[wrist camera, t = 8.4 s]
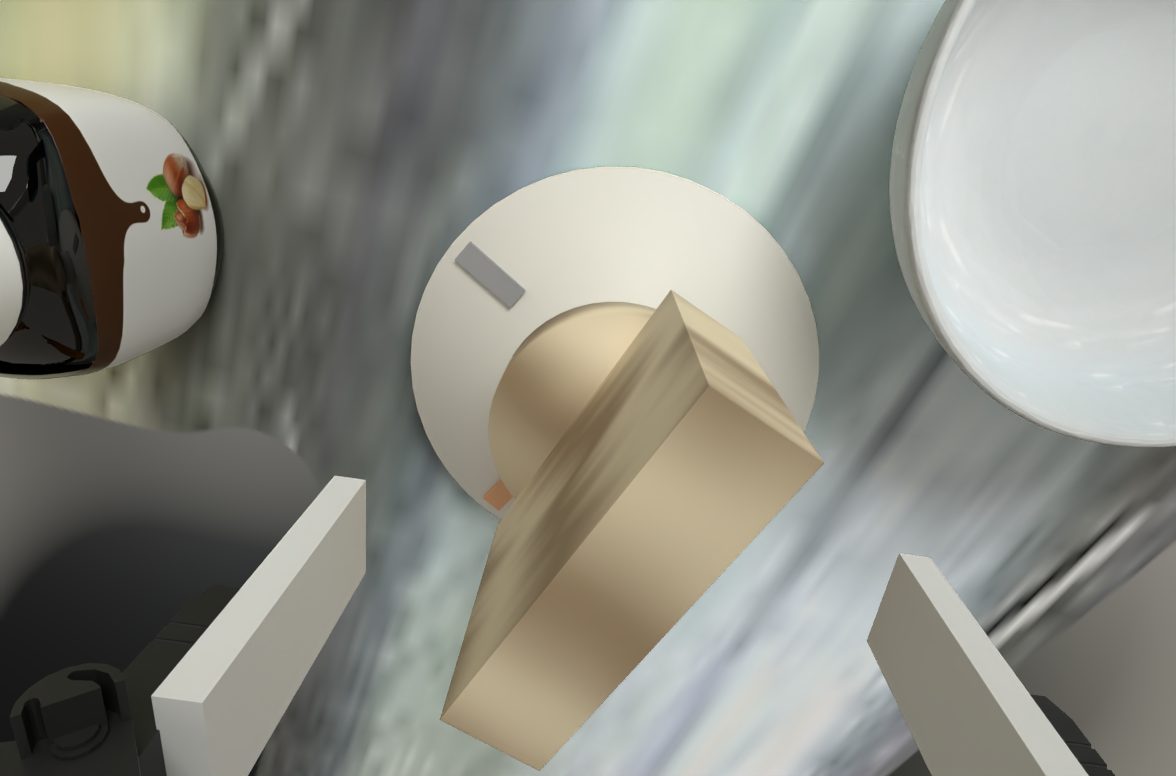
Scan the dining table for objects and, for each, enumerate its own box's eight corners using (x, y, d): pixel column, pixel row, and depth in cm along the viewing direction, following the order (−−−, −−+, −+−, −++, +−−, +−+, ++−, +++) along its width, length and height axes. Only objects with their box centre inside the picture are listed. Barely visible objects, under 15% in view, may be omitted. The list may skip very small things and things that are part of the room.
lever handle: (597, 229, 23) (584, 301, 12) (795, 367, 24) (929, 534, 14) (433, 473, 26) (319, 685, 16) (614, 580, 28) (616, 835, 18)
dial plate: (892, 361, 30) (944, 402, 25) (620, 594, 35) (621, 665, 30) (602, 66, 26) (600, 49, 21) (344, 378, 31) (296, 421, 26)
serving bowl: (834, 406, 31) (893, 477, 24) (842, -131, 23) (931, -235, 17) (1310, 361, 29) (1509, 424, 23) (1480, -231, 22) (1846, -387, 15)
